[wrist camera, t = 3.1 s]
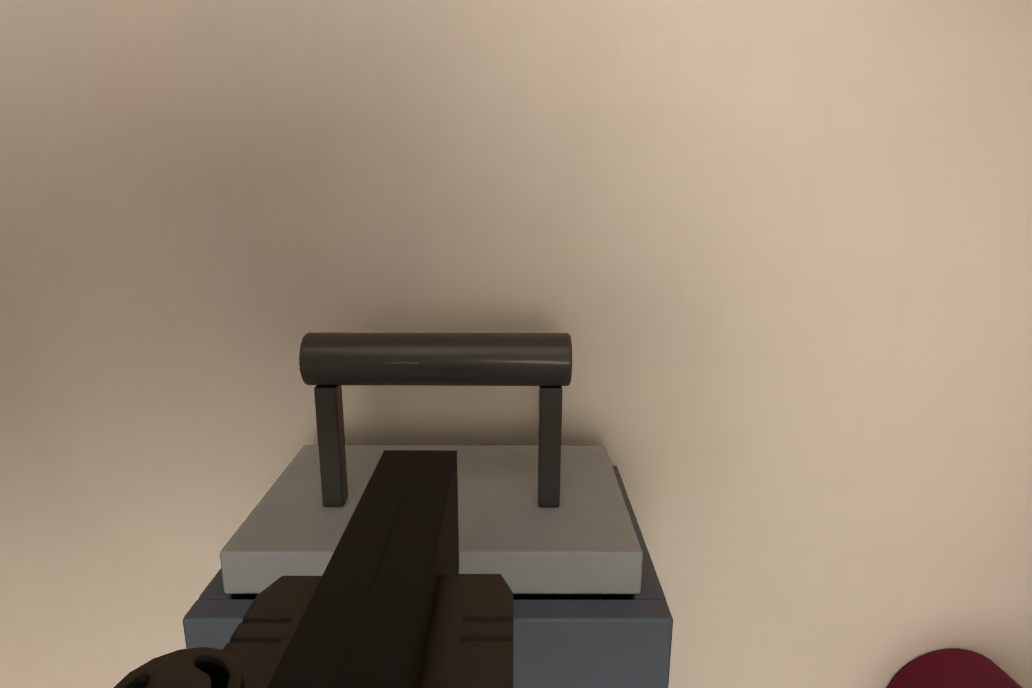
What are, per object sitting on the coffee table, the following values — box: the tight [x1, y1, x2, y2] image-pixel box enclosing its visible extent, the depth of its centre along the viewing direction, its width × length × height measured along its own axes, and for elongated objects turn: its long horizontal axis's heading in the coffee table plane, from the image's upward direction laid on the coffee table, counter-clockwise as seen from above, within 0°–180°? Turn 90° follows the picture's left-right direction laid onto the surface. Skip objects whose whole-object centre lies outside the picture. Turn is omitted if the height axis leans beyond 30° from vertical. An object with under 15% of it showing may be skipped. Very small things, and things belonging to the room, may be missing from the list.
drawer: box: [220, 333, 643, 600], centre depth 20 cm, size 17×10×7 cm, turn 0°
